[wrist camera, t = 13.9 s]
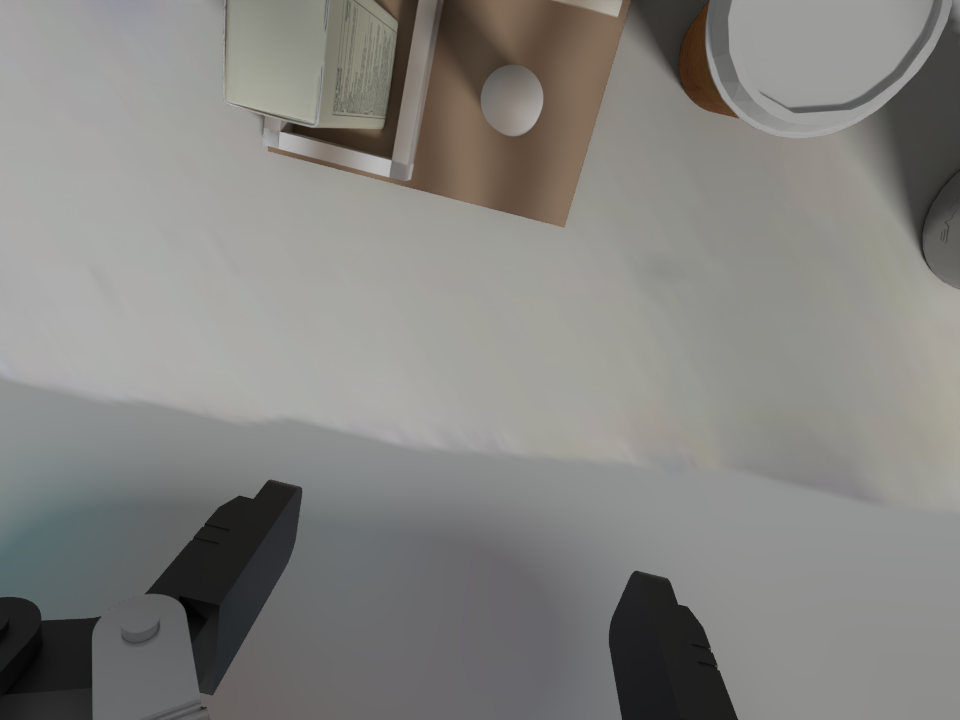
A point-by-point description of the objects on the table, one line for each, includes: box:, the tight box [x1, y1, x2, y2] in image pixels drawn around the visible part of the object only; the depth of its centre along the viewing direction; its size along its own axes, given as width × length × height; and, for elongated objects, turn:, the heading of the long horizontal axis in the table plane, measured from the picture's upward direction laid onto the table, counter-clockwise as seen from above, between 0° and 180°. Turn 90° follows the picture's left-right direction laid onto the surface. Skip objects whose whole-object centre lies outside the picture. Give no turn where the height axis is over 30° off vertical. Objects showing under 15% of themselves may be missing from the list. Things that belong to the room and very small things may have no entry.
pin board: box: [262, 0, 631, 227], centre depth 29 cm, size 20×20×10 cm
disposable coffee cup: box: [679, 0, 953, 138], centre depth 27 cm, size 10×10×12 cm
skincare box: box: [223, 0, 398, 129], centre depth 28 cm, size 6×4×12 cm
